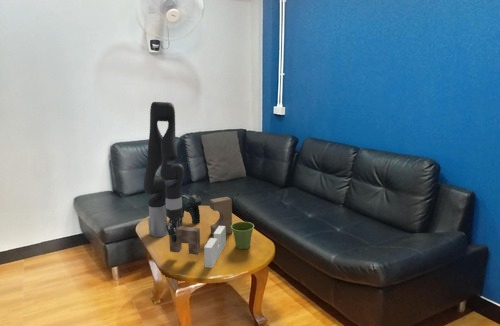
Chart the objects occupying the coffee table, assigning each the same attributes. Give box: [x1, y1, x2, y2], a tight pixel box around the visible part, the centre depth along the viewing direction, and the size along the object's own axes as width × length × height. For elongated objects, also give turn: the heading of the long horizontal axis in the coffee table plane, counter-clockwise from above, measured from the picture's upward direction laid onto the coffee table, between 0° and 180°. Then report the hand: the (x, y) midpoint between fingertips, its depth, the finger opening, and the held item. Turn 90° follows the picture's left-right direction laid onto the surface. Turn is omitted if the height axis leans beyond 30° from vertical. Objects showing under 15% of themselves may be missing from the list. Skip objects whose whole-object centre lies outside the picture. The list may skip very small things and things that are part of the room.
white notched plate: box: [203, 226, 227, 269], centre depth 168 cm, size 4×24×10 cm, turn 169°
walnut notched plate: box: [168, 225, 201, 256], centre depth 163 cm, size 14×4×12 cm, turn 78°
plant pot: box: [231, 221, 255, 250], centre depth 176 cm, size 12×12×11 cm
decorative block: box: [209, 196, 233, 237], centre depth 190 cm, size 11×6×20 cm, turn 116°
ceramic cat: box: [181, 189, 202, 225], centre depth 208 cm, size 20×6×20 cm, turn 49°
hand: (175, 239), depth 164 cm, fingers closed on walnut notched plate, 3 cm apart
